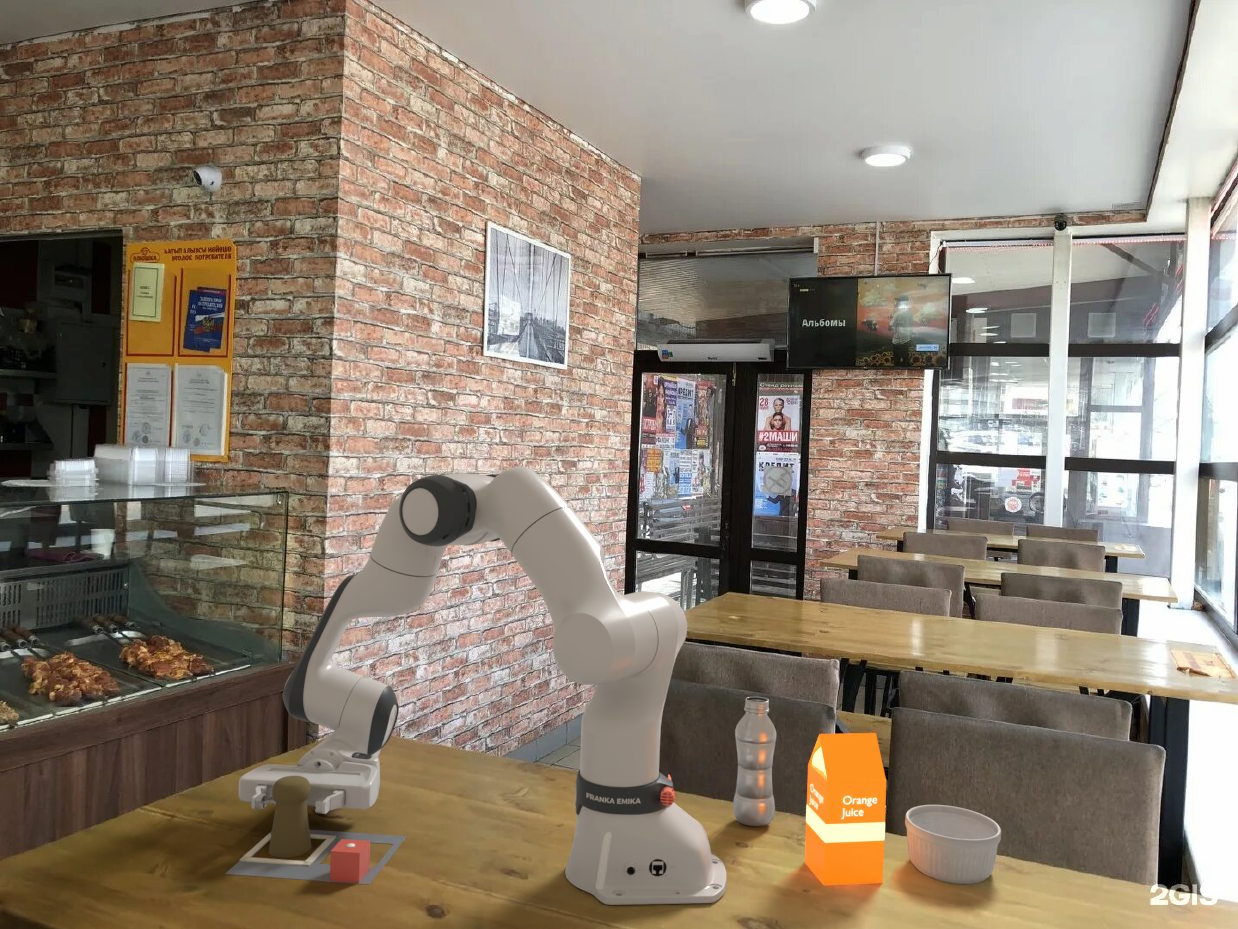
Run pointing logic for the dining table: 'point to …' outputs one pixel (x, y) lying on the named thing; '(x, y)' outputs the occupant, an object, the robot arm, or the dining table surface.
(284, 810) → the cork
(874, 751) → the orange juice
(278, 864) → the grey and white frame
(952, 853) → the ramekin
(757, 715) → the plastic bottle
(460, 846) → the dining table surface
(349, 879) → the red cube
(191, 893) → the dining table surface
